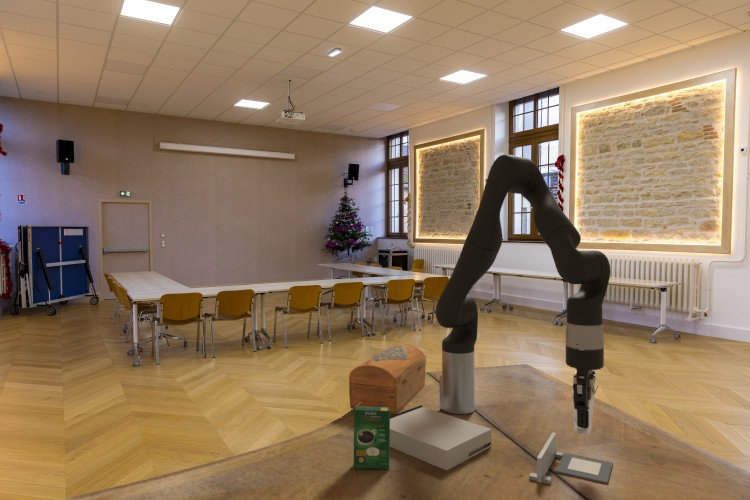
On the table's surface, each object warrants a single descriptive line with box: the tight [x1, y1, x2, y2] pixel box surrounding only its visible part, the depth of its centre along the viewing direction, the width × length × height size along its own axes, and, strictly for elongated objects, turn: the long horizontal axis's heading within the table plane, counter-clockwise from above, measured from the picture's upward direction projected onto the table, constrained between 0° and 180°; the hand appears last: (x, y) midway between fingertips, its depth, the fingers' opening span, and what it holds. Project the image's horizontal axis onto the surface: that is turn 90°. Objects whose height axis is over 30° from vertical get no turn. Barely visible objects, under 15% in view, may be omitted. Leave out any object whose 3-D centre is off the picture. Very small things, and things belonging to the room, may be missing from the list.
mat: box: [555, 452, 613, 485], centre depth 106 cm, size 10×10×1 cm
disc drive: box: [389, 405, 493, 471], centre depth 120 cm, size 18×22×5 cm
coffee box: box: [353, 406, 391, 471], centre depth 108 cm, size 8×3×13 cm, turn 86°
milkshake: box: [571, 385, 599, 435], centre depth 106 cm, size 4×5×10 cm
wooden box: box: [348, 343, 427, 415], centre depth 156 cm, size 30×16×14 cm, turn 157°
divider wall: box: [528, 431, 564, 485], centre depth 107 cm, size 4×15×5 cm, turn 149°
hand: (584, 423), depth 106 cm, fingers closed on milkshake, 4 cm apart
